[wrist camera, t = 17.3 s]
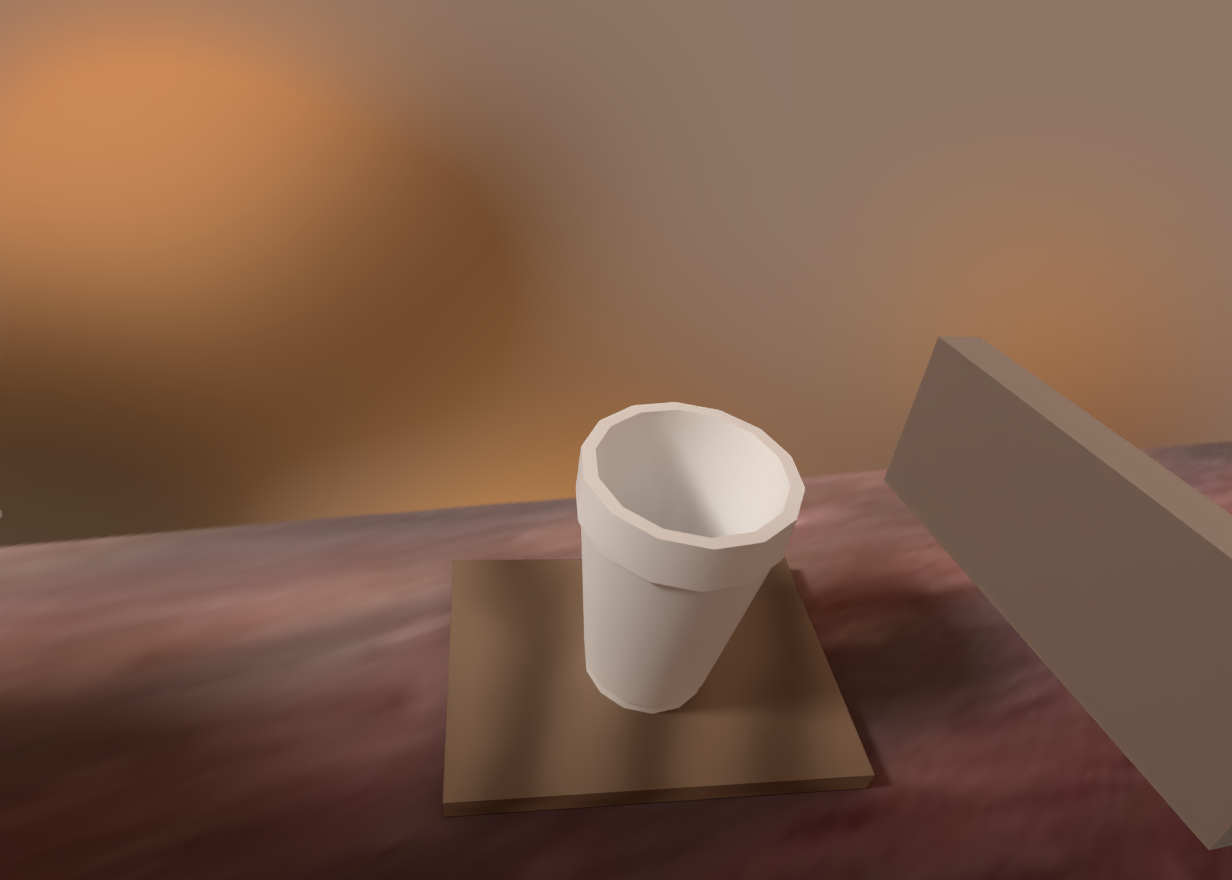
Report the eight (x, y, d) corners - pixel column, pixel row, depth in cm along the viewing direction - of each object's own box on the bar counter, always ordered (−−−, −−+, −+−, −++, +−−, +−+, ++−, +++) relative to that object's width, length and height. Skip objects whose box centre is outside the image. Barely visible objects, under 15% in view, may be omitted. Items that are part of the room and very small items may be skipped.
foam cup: (770, 697, 39) (850, 509, 31) (615, 775, 35) (664, 580, 27) (666, 569, 45) (712, 386, 37) (524, 622, 41) (542, 426, 33)
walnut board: (442, 816, 33) (442, 802, 33) (452, 574, 44) (452, 560, 43) (866, 788, 37) (874, 775, 36) (779, 571, 48) (784, 558, 47)
